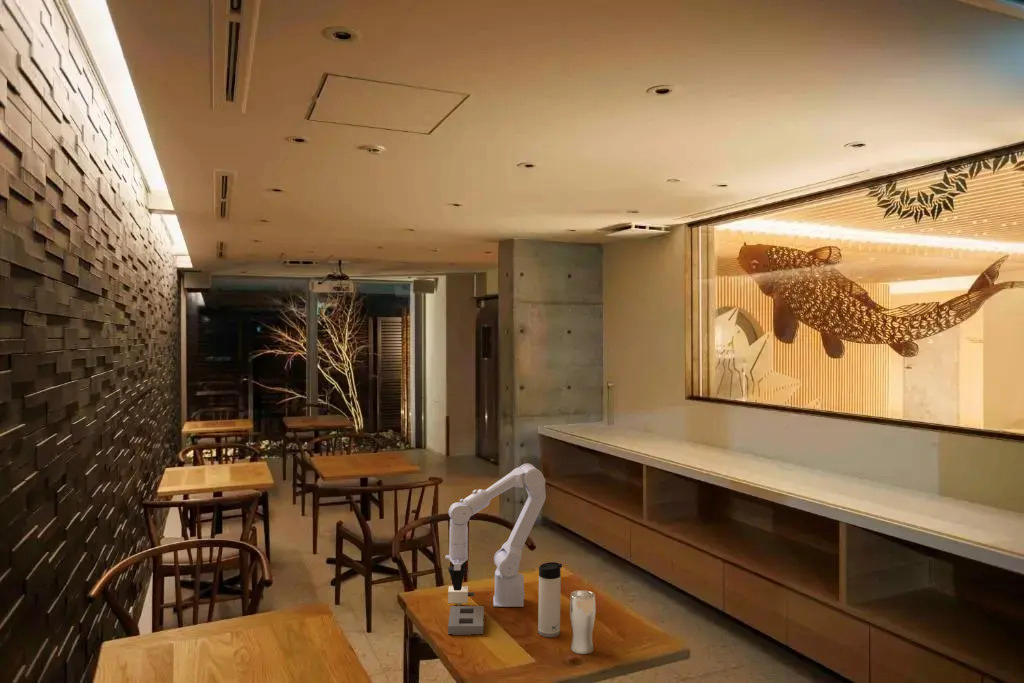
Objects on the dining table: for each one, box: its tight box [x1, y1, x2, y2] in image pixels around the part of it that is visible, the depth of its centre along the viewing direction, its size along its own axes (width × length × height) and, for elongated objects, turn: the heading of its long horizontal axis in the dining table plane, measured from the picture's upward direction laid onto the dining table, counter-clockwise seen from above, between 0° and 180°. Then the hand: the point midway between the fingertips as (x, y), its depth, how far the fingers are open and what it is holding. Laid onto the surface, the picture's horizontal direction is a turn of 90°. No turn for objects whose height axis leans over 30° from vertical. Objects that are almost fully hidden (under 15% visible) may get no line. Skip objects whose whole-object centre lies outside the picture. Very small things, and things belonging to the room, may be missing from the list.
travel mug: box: [537, 561, 563, 638], centre depth 201 cm, size 6×7×20 cm
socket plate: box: [447, 605, 485, 636], centre depth 206 cm, size 10×14×2 cm
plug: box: [447, 585, 475, 606], centre depth 219 cm, size 8×5×6 cm, turn 92°
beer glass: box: [569, 589, 597, 655], centre depth 191 cm, size 7×7×15 cm
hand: (457, 585), depth 219 cm, fingers open, 7 cm apart
